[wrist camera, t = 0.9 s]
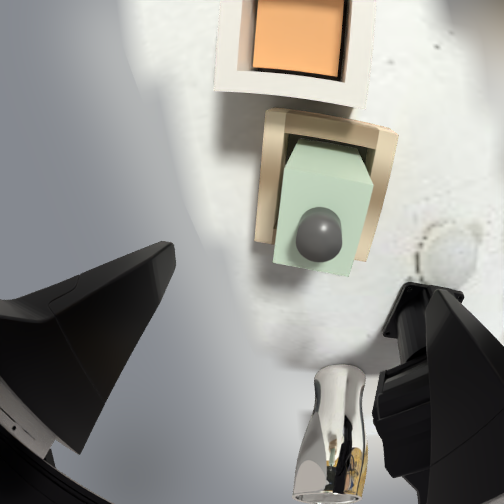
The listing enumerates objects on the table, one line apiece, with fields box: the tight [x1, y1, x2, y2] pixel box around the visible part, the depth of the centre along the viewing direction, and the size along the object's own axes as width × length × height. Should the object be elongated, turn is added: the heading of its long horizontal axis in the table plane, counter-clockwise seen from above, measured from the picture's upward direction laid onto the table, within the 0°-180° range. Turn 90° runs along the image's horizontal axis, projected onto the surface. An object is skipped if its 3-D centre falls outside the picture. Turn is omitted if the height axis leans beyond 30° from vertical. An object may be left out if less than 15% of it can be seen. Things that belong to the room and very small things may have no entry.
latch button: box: [253, 0, 344, 77], centre depth 13 cm, size 6×5×1 cm
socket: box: [214, 0, 376, 110], centre depth 13 cm, size 9×8×5 cm
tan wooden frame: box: [254, 107, 399, 262], centre depth 19 cm, size 9×8×3 cm
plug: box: [273, 138, 374, 277], centre depth 16 cm, size 5×4×10 cm
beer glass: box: [292, 364, 368, 504], centre depth 25 cm, size 7×7×15 cm
